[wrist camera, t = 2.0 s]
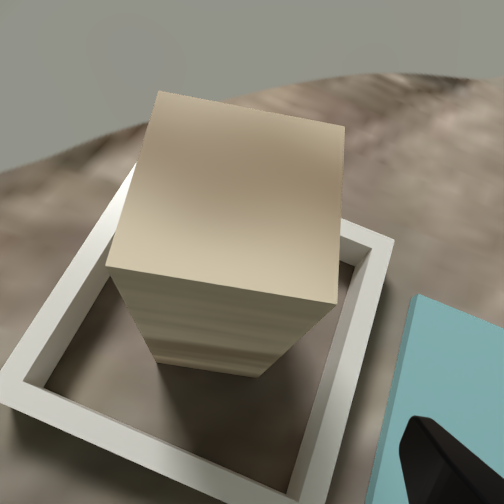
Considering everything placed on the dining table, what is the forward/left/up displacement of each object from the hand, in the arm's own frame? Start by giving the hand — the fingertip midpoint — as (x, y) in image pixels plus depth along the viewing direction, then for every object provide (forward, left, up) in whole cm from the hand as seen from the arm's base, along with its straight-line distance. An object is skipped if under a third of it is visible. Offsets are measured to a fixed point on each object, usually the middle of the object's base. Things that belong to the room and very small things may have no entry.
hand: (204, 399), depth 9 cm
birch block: (+5, +1, -11) cm, 12 cm away
